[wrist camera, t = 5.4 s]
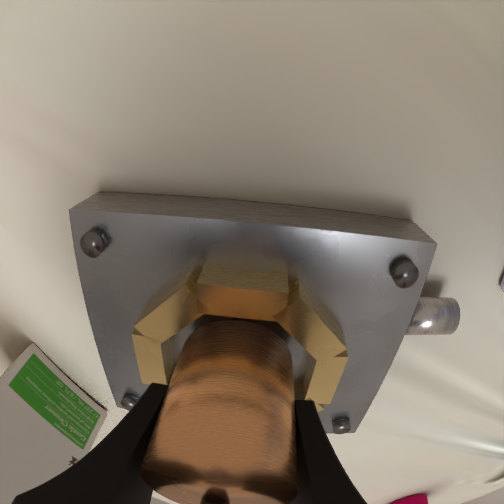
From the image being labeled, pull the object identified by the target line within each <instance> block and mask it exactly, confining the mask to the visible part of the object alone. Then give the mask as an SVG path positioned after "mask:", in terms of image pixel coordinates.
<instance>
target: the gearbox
mask: <svg viewBox="0 0 504 504" xmlns="http://www.w3.org/2000/svg"><path fill="white" fill-rule="evenodd" d="M69 214H70V222H71V230H72V236H73V243H74V249H75V255H76V261H77V266H78V271H79V276H80V281H81V286H82V291H83V295H84V299H85V304H86V308H87V312H88V316H89V320H90V324H91V327H92V331H93V335H94V338H95V342H96V345H97V349H98V352H99V355H100V358H101V362H102V365H103V368H104V371H105V374H106V377H107V380H108V383H109V386H110V388H111V391H112V394H113V397H114V399H115V402H116V405H117V407H120V408H124V409H127V410H129V411H130V410H131V409H132V407H133V406H134V405H135V404H136V402H137V401H138V400H139V399H140V397H141V396H142V395H143V393H144V392H145V391H146V389H147V388H148V387H149V385H150V384H151V383H159V384H164V385H169V384H170V381H171V378H172V375H173V373H174V370H175V367H176V364H177V361H178V359H179V356H180V353H181V350H182V348H183V345H184V343H185V341H186V339H187V338H188V337H189V335H190V334H191V333H193V332H194V331H195V330H196V329H198V328H199V327H201V326H203V325H205V324H208V323H211V322H215V321H221V320H242V321H247V322H252V323H255V324H258V325H261V326H263V327H265V328H267V329H269V330H271V331H272V332H274V333H275V334H277V335H278V336H279V337H280V338H281V339H282V340H283V341H284V342H285V344H286V345H287V346H288V348H289V350H290V352H291V355H292V361H293V377H294V396H295V400H312V401H314V402H315V406H316V409H317V412H318V415H319V417H320V420H321V423H322V425H323V428H324V430H325V432H326V433H335V434H343V433H355V431H356V430H357V428H358V426H359V424H360V423H361V421H362V419H363V418H364V416H365V414H366V412H367V410H368V409H369V407H370V405H371V403H372V401H373V399H374V398H375V396H376V394H377V392H378V390H379V388H380V386H381V384H382V382H383V380H384V378H385V376H386V374H387V372H388V370H389V368H390V366H391V364H392V362H393V359H394V357H395V355H396V353H397V351H398V349H399V346H400V344H401V342H402V340H403V337H404V335H447V334H452V333H453V332H454V331H455V330H456V329H457V327H458V324H459V320H460V308H459V305H458V302H457V301H456V300H455V299H454V298H445V297H426V296H420V294H421V292H422V289H423V286H424V283H425V280H426V278H427V275H428V272H429V269H430V266H431V262H432V259H433V256H434V253H435V250H436V246H437V243H436V242H435V241H434V240H433V239H432V238H430V237H429V236H428V235H427V234H426V233H425V232H424V231H423V230H422V229H421V228H420V227H419V226H418V225H417V224H416V223H414V222H413V221H410V220H404V219H397V218H390V217H383V216H376V215H369V214H361V213H353V212H346V211H338V210H329V209H321V208H312V207H303V206H294V205H284V204H274V203H264V202H253V201H242V200H230V199H218V198H204V197H190V196H174V195H157V194H137V193H112V192H98V193H96V194H95V195H93V196H91V197H89V198H88V199H86V200H84V201H82V202H81V203H79V204H77V205H76V206H74V207H72V208H71V209H69Z"/></svg>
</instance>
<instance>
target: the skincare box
mask: <svg viewBox="0 0 504 504" xmlns="http://www.w3.org/2000/svg"><path fill="white" fill-rule="evenodd" d="M106 416H107V412H106V411H105V410H104V409H103V408H102V407H100V406H99V405H98V404H96V403H95V402H94V401H93V400H92V399H91V398H89V397H88V396H87V395H86V394H85V393H84V392H83V391H82V390H81V389H80V388H78V387H77V386H76V385H75V384H74V383H73V382H72V381H71V380H70V379H69V378H68V377H66V376H65V375H64V374H63V373H62V372H61V371H60V370H59V369H58V368H57V367H56V366H55V365H54V364H53V363H52V362H51V361H50V360H49V359H48V358H47V357H46V356H45V354H44V353H43V352H42V351H41V350H40V349H39V348H38V347H37V346H36V345H35V344H34V343H32V344H31V345H29V346H28V347H27V348H26V349H25V350H24V351H23V352H22V353H21V354H20V355H19V356H18V357H17V358H16V359H15V360H14V362H13V363H12V364H11V365H10V366H9V367H8V368H7V370H6V371H5V372H4V373H3V375H2V376H1V377H0V504H12V502H13V500H14V499H15V497H16V496H17V495H19V494H21V493H24V492H26V491H28V490H31V489H33V488H35V487H37V486H39V485H41V484H43V483H45V482H47V481H48V480H50V479H52V478H54V477H55V476H57V475H59V474H60V473H62V472H63V471H65V470H66V469H68V468H69V467H71V466H72V465H73V464H75V463H76V462H77V461H79V460H80V459H81V458H83V457H84V456H85V455H86V454H88V453H89V451H90V449H91V447H92V445H93V443H94V441H95V439H96V437H97V435H98V432H99V430H100V428H101V426H102V424H103V422H104V420H105V418H106Z"/></svg>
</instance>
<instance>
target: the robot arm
mask: <svg viewBox="0 0 504 504" xmlns="http://www.w3.org/2000/svg"><path fill="white" fill-rule="evenodd" d="M501 289H502V290H503V291H504V277H503V280H502V282H501ZM168 387H169V385H164V384H159V383H151V384H150V385H149V387H148V388H147V389H146V391H145V392H144V393H143V395H142V396H141V397H140V399H139V400H138V401H137V402H136V404H135V405H134V406H133V407H132V409H131V410H130V411H129V412H128V413H127V415H126V416H125V417H124V418H123V419H122V420H121V421H120V423H119V424H118V425H117V426H116V427H115V428H114V429H113V430H112V431H111V432H110V433H109V434H108V435H107V436H106V437H105V438H104V439H103V440H102V441H101V442H100V443H99V444H98V445H97V446H96V447H95V448H93V449H92V450H91V451H90V452H89V453H88V454H86V455H85V456H84V457H83V458H81V459H80V460H79V461H77V462H76V463H75V464H73V465H72V466H71V467H69V468H68V469H66V470H65V471H63V472H62V473H60V474H59V475H57V476H55V477H54V478H52V479H50V480H48V481H47V482H45V483H43V484H41V485H39V486H37V487H35V488H33V489H31V490H28V491H26V492H24V493H21V494H19V495H17V496H16V497H15V499H14V500H13V502H12V504H150V500H151V496H152V492H153V489H152V488H150V487H149V486H148V485H147V484H146V483H145V481H144V480H143V479H142V477H141V474H140V469H141V466H142V463H143V460H144V457H145V454H146V451H147V448H148V445H149V442H150V439H151V436H152V433H153V430H154V427H155V424H156V421H157V418H158V415H159V412H160V409H161V407H162V404H163V401H164V398H165V395H166V392H167V389H168ZM295 417H296V441H297V471H298V494H297V497H296V498H295V500H293V501H292V502H291V503H290V504H367V503H366V502H365V500H364V499H363V498H362V496H361V495H360V493H359V492H358V491H357V489H356V488H355V486H354V485H353V483H352V482H351V480H350V479H349V477H348V475H347V474H346V472H345V470H344V468H343V467H342V465H341V463H340V461H339V459H338V458H337V456H336V454H335V452H334V450H333V447H332V445H331V443H330V441H329V439H328V437H327V435H326V432H325V430H324V428H323V425H322V423H321V420H320V417H319V415H318V412H317V409H316V406H315V402H314V401H312V400H295Z"/></svg>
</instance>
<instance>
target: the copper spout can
mask: <svg viewBox="0 0 504 504" xmlns="http://www.w3.org/2000/svg"><path fill="white" fill-rule="evenodd" d="M140 474H141V477H142V479H143V480H144V481H145V483H146V484H147V485H148V486H149V487H150V488H152V489H153V490H154V491H156V492H157V493H159V494H161V495H162V496H164V497H166V498H168V499H170V500H172V501H175V502H177V503H180V504H290V503H291V502H292V501H293V500H295V498H296V497H297V494H298V471H297V441H296V417H295V396H294V377H293V361H292V355H291V352H290V350H289V348H288V346H287V345H286V344H285V342H284V341H283V340H282V339H281V338H280V337H279V336H278V335H277V334H275V333H274V332H272V331H271V330H269V329H267V328H265V327H263V326H261V325H258V324H255V323H252V322H247V321H242V320H221V321H215V322H211V323H208V324H205V325H203V326H201V327H199V328H198V329H196V330H195V331H194V332H193V333H191V334H190V335H189V337H188V338H187V339H186V341H185V343H184V345H183V348H182V350H181V353H180V356H179V359H178V361H177V364H176V367H175V370H174V373H173V375H172V378H171V381H170V384H169V387H168V389H167V392H166V395H165V398H164V401H163V404H162V407H161V409H160V412H159V415H158V418H157V421H156V424H155V427H154V430H153V433H152V436H151V439H150V442H149V445H148V448H147V451H146V454H145V457H144V460H143V463H142V466H141V469H140Z"/></svg>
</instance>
